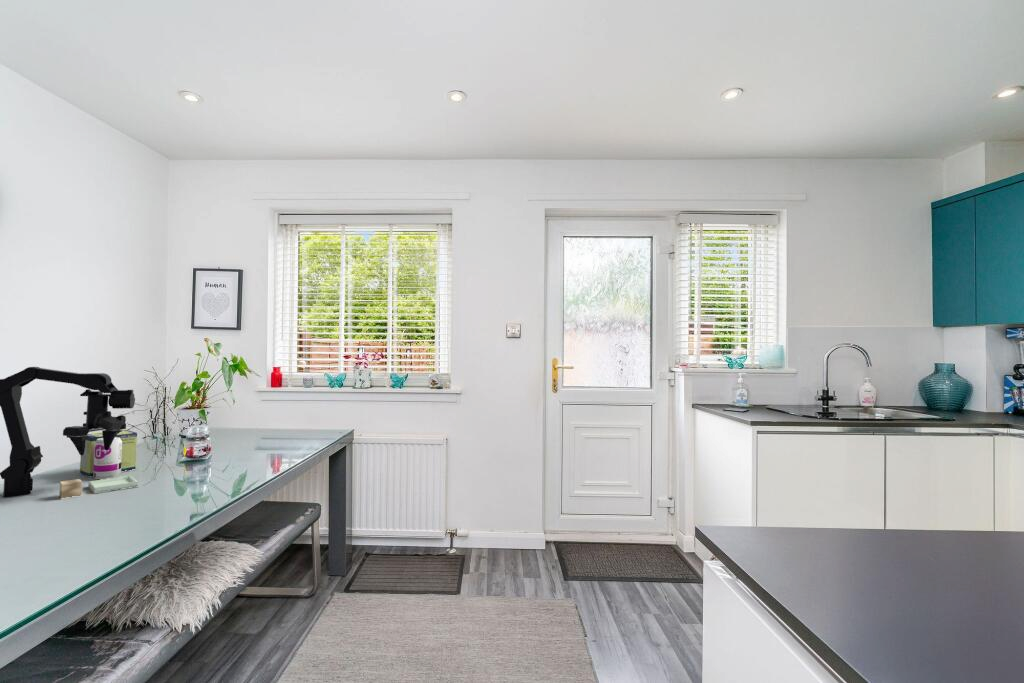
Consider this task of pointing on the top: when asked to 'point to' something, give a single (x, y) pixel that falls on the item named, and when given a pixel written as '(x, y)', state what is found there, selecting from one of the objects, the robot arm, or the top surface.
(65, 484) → the maple cube
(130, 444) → the protein box
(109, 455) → the supplement can
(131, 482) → the tray
